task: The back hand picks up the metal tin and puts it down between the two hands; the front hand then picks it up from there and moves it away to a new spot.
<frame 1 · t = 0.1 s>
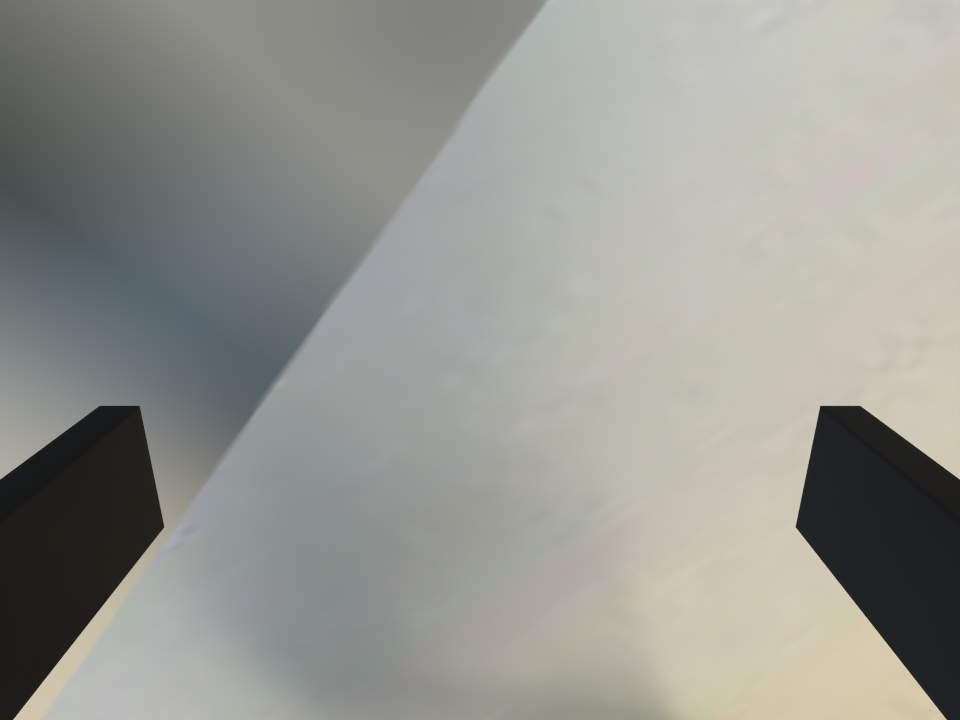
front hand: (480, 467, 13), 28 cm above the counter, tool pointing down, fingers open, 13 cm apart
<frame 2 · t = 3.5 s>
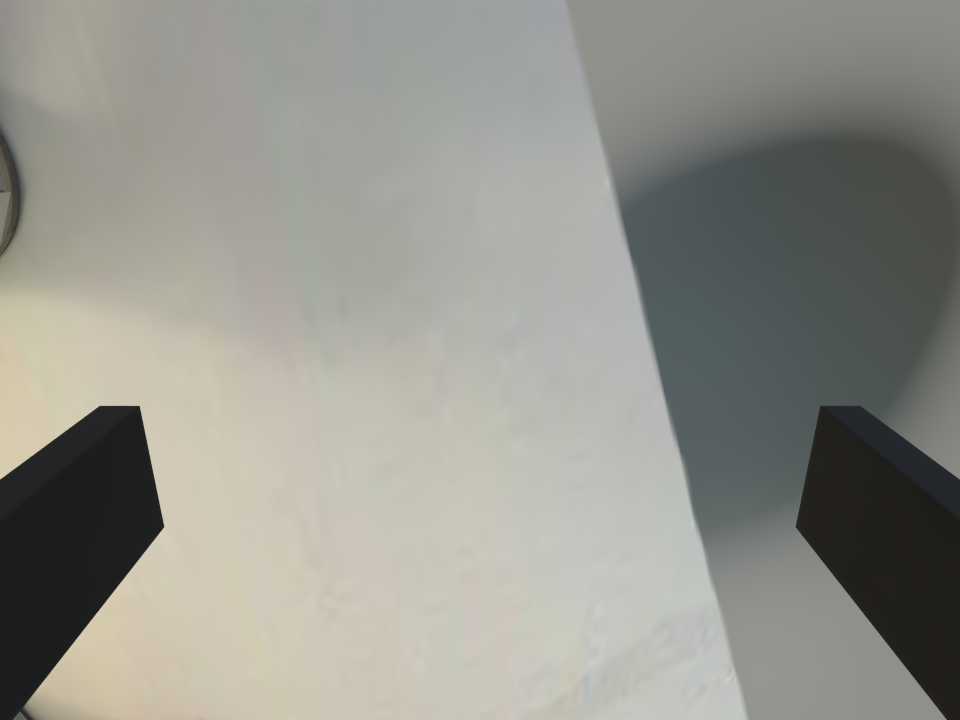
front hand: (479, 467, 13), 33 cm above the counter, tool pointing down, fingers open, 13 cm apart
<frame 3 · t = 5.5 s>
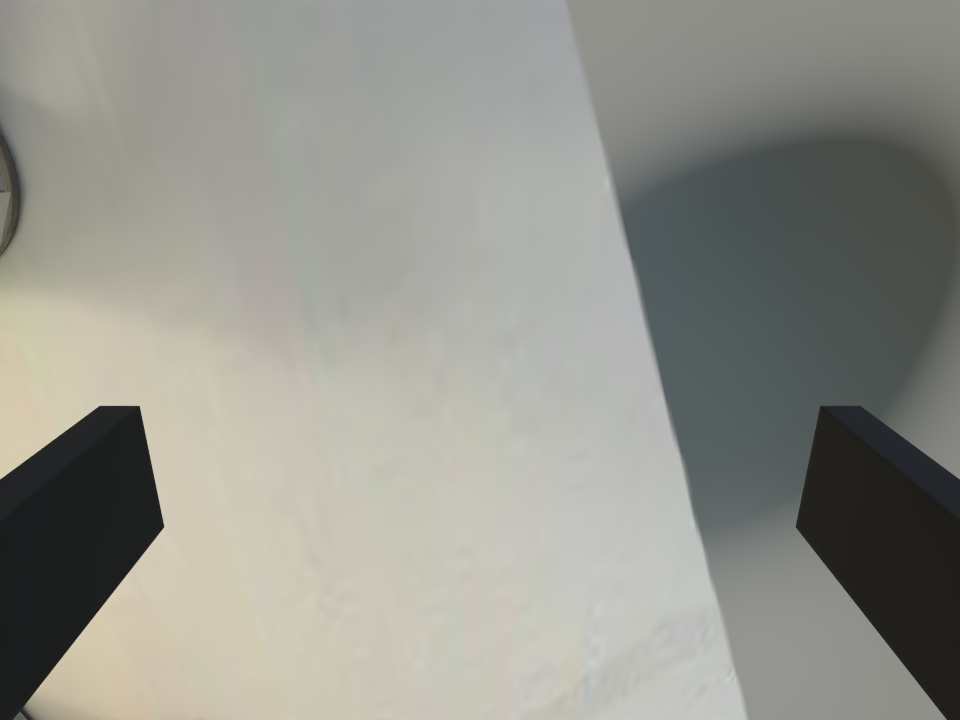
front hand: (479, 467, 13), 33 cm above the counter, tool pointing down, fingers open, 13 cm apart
when the back hand's fingers open (6 cm above the counter, at t = 7.7 s): tin drops 1 cm, on the counter.
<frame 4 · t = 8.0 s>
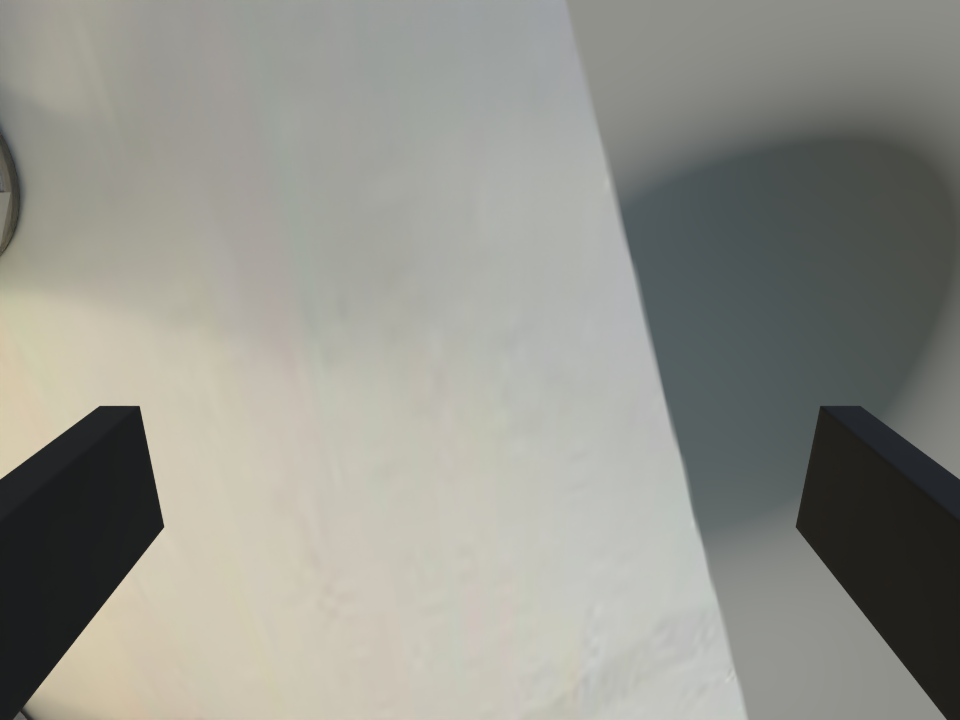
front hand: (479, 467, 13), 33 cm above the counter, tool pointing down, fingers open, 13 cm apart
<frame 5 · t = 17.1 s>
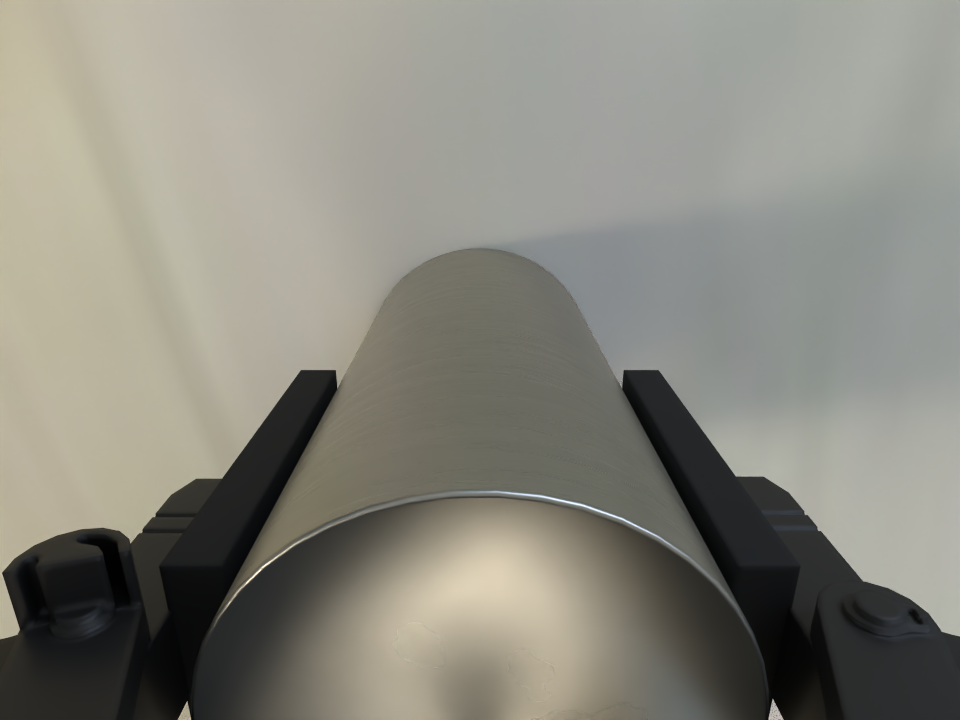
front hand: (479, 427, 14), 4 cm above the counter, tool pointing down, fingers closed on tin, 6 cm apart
tin: (479, 356, 18), on the counter, touching front hand
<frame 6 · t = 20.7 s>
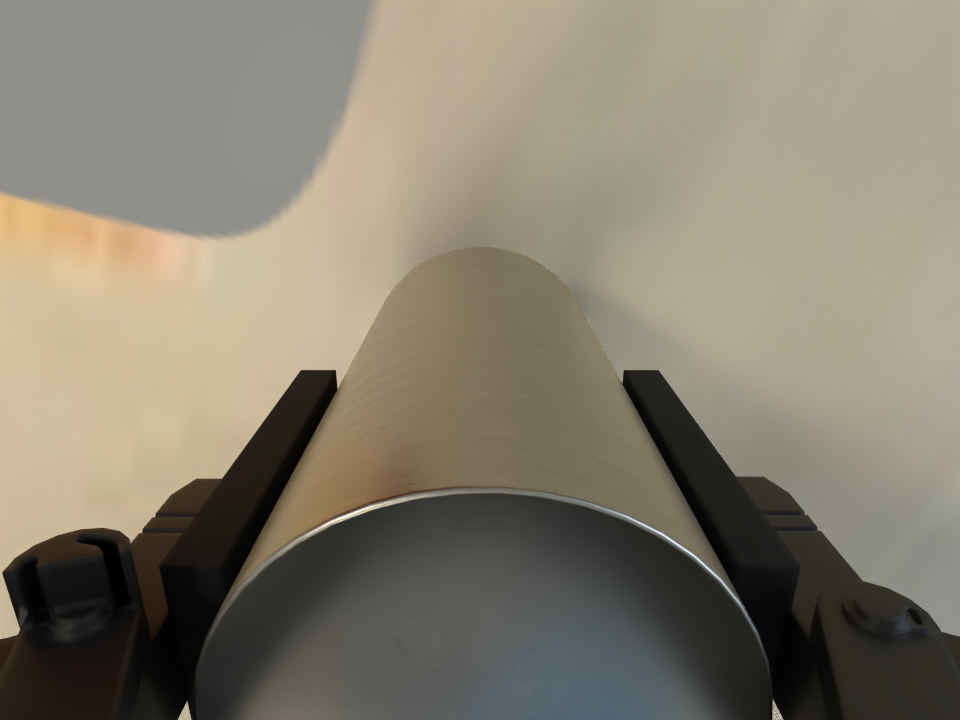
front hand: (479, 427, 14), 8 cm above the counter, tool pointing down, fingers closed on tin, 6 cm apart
tin: (480, 355, 18), point 4 cm above the counter, touching front hand
when the front hand's fingers open (6 cm above the counter, at t = 24.8 s): tin drops 1 cm, on the counter.
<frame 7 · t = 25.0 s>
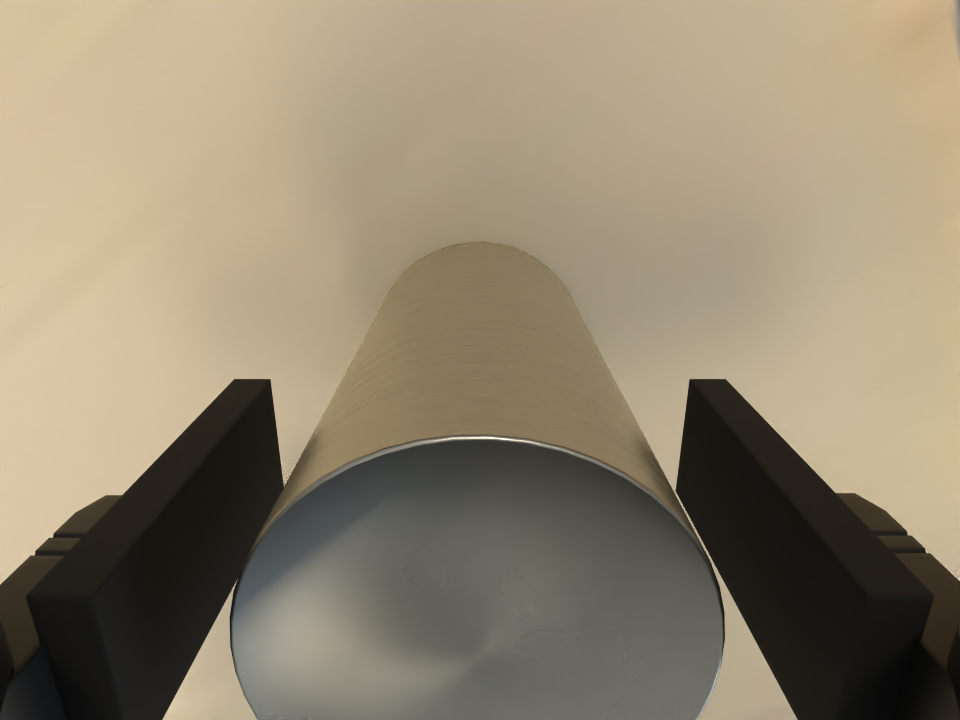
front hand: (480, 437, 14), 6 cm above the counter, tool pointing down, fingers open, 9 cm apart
tin: (478, 344, 19), on the counter
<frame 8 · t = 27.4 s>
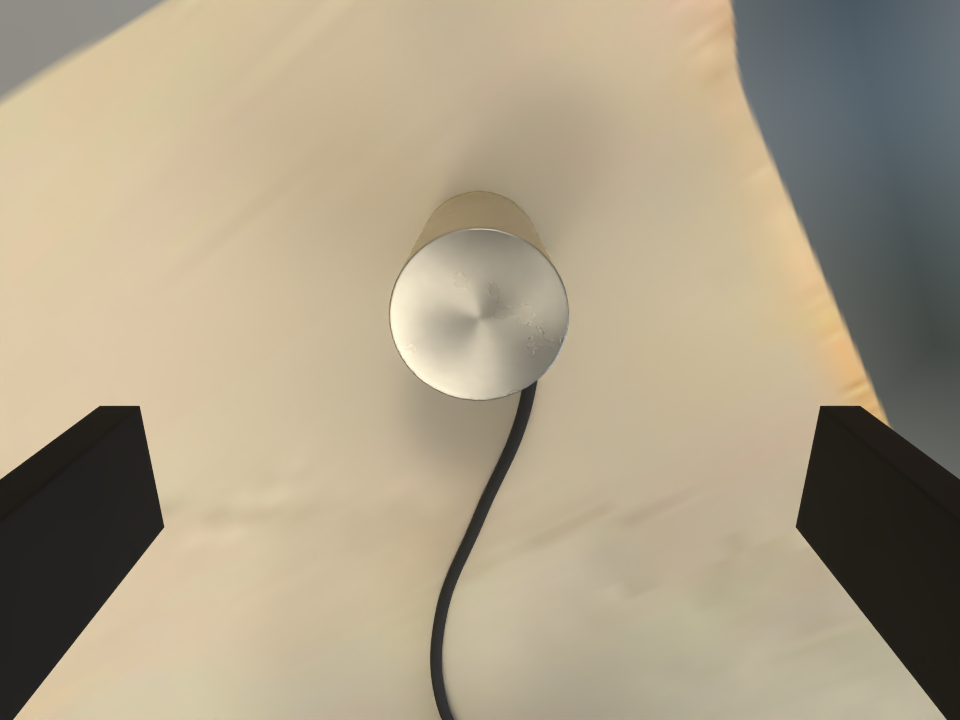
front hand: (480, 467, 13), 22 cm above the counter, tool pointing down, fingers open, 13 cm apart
tin: (479, 252, 33), on the counter
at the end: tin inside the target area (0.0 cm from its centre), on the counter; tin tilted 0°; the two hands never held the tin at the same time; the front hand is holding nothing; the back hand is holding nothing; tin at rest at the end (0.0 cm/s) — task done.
